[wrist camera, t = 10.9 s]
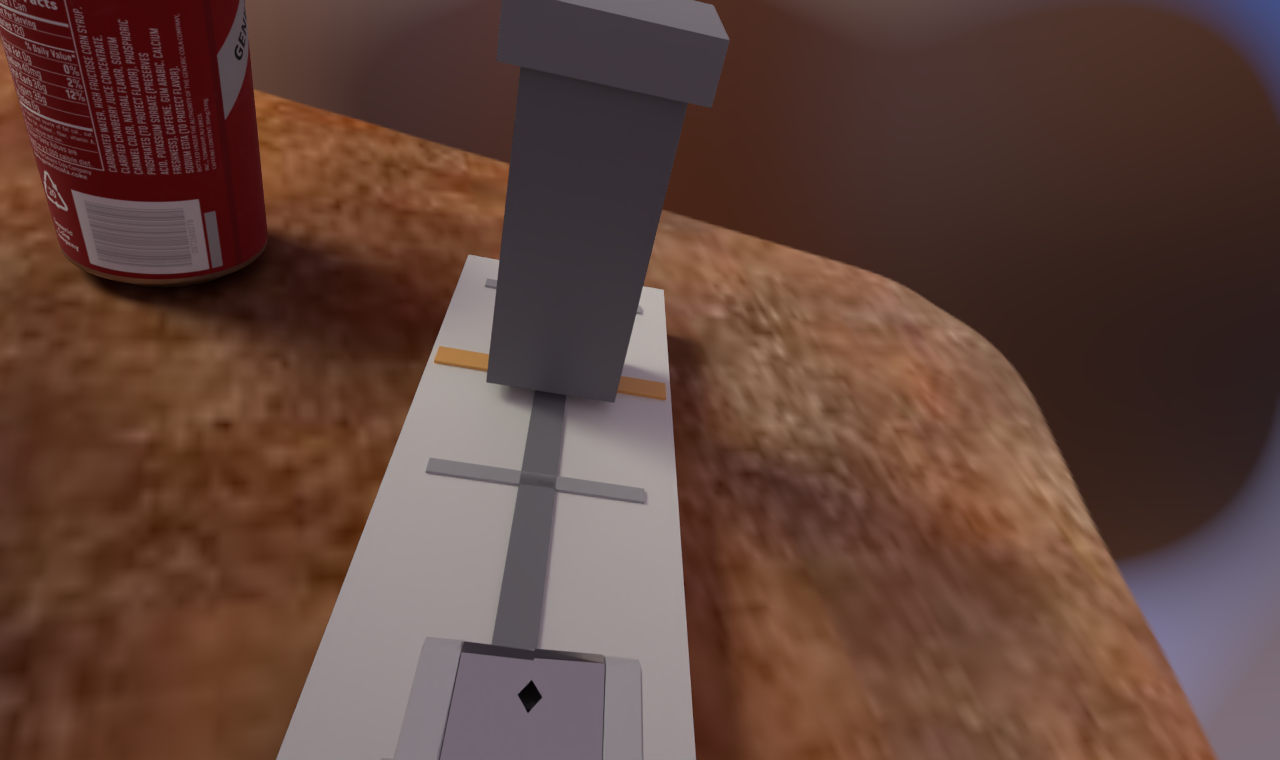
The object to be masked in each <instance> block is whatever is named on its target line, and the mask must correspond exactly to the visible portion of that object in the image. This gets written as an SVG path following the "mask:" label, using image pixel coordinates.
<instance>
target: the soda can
mask: <svg viewBox="0 0 1280 760" xmlns="http://www.w3.org/2000/svg"><path fill="white" fill-rule="evenodd" d="M0 36H1V39H2V43H3V46H4V50H5V53H6V57H7V60H8V64H9V68H10V71H11V75H12V78H13V82H14V85H15V89H16V92H17V96H18V99H19V103H20V106H21V110H22V113H23V117H24V120H25V124H26V127H27V131H28V135H29V138H30V142H31V145H32V149H33V152H34V156H35V159H36V163H37V166H38V170H39V173H40V177H41V180H42V184H43V187H44V191H45V194H46V198H47V201H48V205H49V209H50V212H51V216H52V219H53V223H54V226H55V230H56V233H57V237H58V240H59V244H60V247H61V250H62V252H63V253H64V255H65V256H66V258H67V259H68V260H69V261H70V262H72V263H73V264H74V265H76V266H77V267H79V268H81V269H82V270H84V271H86V272H89V273H91V274H94V275H96V276H99V277H102V278H106V279H110V280H114V281H119V282H124V283H130V284H134V285H139V286H147V287H183V286H191V285H197V284H202V283H206V282H209V281H213V280H216V279H218V278H221V277H223V276H226V275H228V274H231V273H234V272H236V271H238V270H240V269H242V268H244V267H246V266H248V265H249V264H251V263H252V262H254V261H255V260H256V259H257V258H258V257H259V256H260V255H261V254H262V253H263V251H264V250H265V248H266V245H267V241H268V234H267V224H266V214H265V203H264V193H263V183H262V173H261V162H260V152H259V142H258V132H257V122H256V111H255V101H254V91H253V81H252V70H251V60H250V50H249V40H248V29H247V20H246V10H245V0H0Z"/></svg>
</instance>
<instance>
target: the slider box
mask: <svg viewBox="0 0 1280 760" xmlns="http://www.w3.org/2000/svg"><path fill="white" fill-rule="evenodd" d="M498 269H499V260H495V259H490V258H484V257H479V256H473V255H468V258H467V260H466V263H465V265H464V268H463V271H462V273H461V276H460V279H459V281H458V284H457V286H456V289H455V292H454V294H453V297H452V300H451V302H450V305H449V307H448V310H447V313H446V315H445V318H444V321H443V323H442V326H441V328H440V331H439V334H438V336H437V339H436V341H435V344H434V347H433V349H432V352H431V355H430V357H429V360H428V362H427V365H426V368H425V370H424V373H423V376H422V378H421V381H420V383H419V386H418V389H417V391H416V394H415V397H414V399H413V402H412V404H411V407H410V410H409V412H408V415H407V418H406V420H405V423H404V425H403V428H402V431H401V433H400V436H399V439H398V441H397V444H396V446H395V449H394V452H393V454H392V457H391V460H390V462H389V465H388V467H387V470H386V473H385V475H384V478H383V481H382V483H381V486H380V488H379V491H378V494H377V496H376V499H375V501H374V504H373V507H372V509H371V512H370V515H369V517H368V520H367V522H366V525H365V528H364V530H363V533H362V536H361V538H360V541H359V543H358V546H357V549H356V551H355V554H354V557H353V559H352V562H351V564H350V567H349V570H348V572H347V575H346V578H345V580H344V583H343V585H342V588H341V591H340V593H339V596H338V599H337V601H336V604H335V606H334V609H333V612H332V614H331V617H330V620H329V622H328V625H327V627H326V630H325V633H324V635H323V638H322V641H321V643H320V646H319V648H318V651H317V654H316V656H315V659H314V662H313V664H312V667H311V669H310V672H309V675H308V677H307V680H306V682H305V685H304V688H303V690H302V693H301V696H300V698H299V701H298V703H297V706H296V709H295V711H294V714H293V717H292V719H291V722H290V724H289V727H288V730H287V732H286V735H285V738H284V740H283V743H282V745H281V748H280V751H279V753H278V756H277V759H276V760H380V759H381V758H394V754H395V750H396V746H397V742H398V738H399V734H400V730H401V726H402V723H403V719H404V715H405V711H406V707H407V703H408V699H409V695H410V691H411V687H412V683H413V679H414V676H415V672H416V668H417V664H418V660H419V656H420V652H421V649H422V646H423V644H424V642H425V639H426V637H435V638H446V639H456V640H464V641H467V642H476V643H485V644H494V645H504V646H513V647H522V648H531V649H546V650H557V651H568V652H579V653H590V654H601V655H603V656H614V657H624V658H634V659H638V660H639V662H640V665H641V668H642V700H643V757H644V760H696V753H695V738H694V724H693V709H692V695H691V680H690V666H689V652H688V637H687V623H686V608H685V594H684V579H683V565H682V550H681V536H680V521H679V507H678V492H677V478H676V464H675V449H674V435H673V420H672V406H671V391H670V377H669V362H668V348H667V333H666V319H665V304H664V290H660V289H655V288H649V287H644V286H643V289H642V293H641V297H640V301H639V305H638V309H637V313H636V317H635V321H634V325H633V329H632V333H631V337H630V342H629V346H628V350H627V354H626V358H625V362H624V366H623V370H622V374H621V378H620V382H619V386H618V391H617V395H616V399H615V403H612V402H606V401H600V400H594V399H587V398H581V397H575V396H569V395H562V394H556V393H550V392H544V391H537V390H531V389H525V388H519V387H512V386H506V385H500V384H493V383H487V382H486V379H487V369H488V360H489V351H490V342H491V333H492V324H493V315H494V306H495V297H496V287H497V278H498Z"/></svg>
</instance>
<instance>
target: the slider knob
mask: <svg viewBox="0 0 1280 760" xmlns="http://www.w3.org/2000/svg"><path fill="white" fill-rule="evenodd" d="M728 44H729V38H728V36H727V34H726V32H725V29H724V27H723V25H722V23H721V21H720V19H719V16H718V14H717V12H716V10H715V8H714V6H713V5H710V4H706V3H702V2H697V1H693V0H502V6H501V17H500V29H499V39H498V51H497V61H499V62H503V63H507V64H512V65H517V66H521V69H520V79H519V88H518V96H517V105H516V114H515V123H514V133H513V142H512V151H511V160H510V169H509V178H508V187H507V196H506V205H505V215H504V224H503V233H502V242H501V251H500V260H499V269H498V278H497V287H496V297H495V306H494V315H493V324H492V333H491V342H490V351H489V360H488V369H487V379H486V382H487V383H493V384H500V385H506V386H512V387H519V388H525V389H531V390H537V391H544V392H550V393H556V394H562V395H569V396H575V397H581V398H587V399H594V400H600V401H606V402H612V403H615V399H616V395H617V391H618V386H619V382H620V378H621V374H622V370H623V366H624V362H625V358H626V354H627V350H628V346H629V342H630V337H631V333H632V329H633V325H634V321H635V317H636V313H637V309H638V305H639V301H640V297H641V293H642V289H643V284H644V280H645V276H646V272H647V268H648V264H649V260H650V256H651V252H652V248H653V244H654V240H655V236H656V231H657V227H658V223H659V219H660V215H661V211H662V207H663V203H664V199H665V195H666V191H667V187H668V182H669V178H670V174H671V170H672V166H673V162H674V158H675V153H676V150H677V146H678V142H679V137H680V134H681V129H682V125H683V121H684V117H685V113H686V108H687V105H688V103H691V104H696V105H701V106H705V107H710V108H712V104H713V100H714V97H715V93H716V89H717V85H718V82H719V78H720V74H721V70H722V67H723V63H724V59H725V55H726V51H727V48H728Z"/></svg>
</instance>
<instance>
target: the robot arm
mask: <svg viewBox="0 0 1280 760" xmlns="http://www.w3.org/2000/svg"><path fill="white" fill-rule="evenodd" d="M380 760H644V757H643V700H642V668H641V665H640V662H639V660H638V659H634V658H624V657H614V656H603V655H601V654H590V653H579V652H568V651H557V650H546V649H531V648H522V647H513V646H504V645H494V644H485V643H476V642H467V641H464V640H456V639H446V638H435V637H426V639H425V642H424V644H423V646H422V649H421V652H420V656H419V660H418V664H417V668H416V672H415V676H414V679H413V683H412V687H411V691H410V695H409V699H408V703H407V707H406V711H405V715H404V719H403V723H402V726H401V730H400V734H399V738H398V742H397V746H396V750H395V754H394V758H381V759H380Z"/></svg>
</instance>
